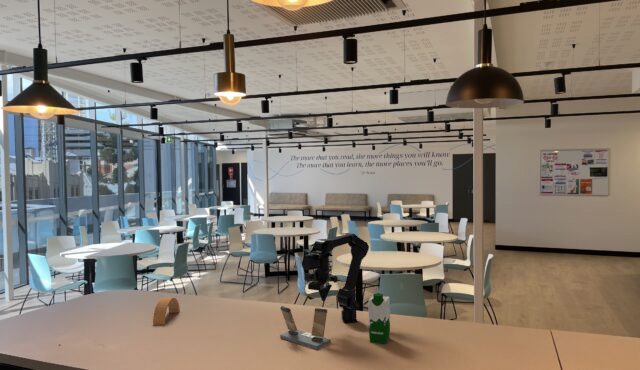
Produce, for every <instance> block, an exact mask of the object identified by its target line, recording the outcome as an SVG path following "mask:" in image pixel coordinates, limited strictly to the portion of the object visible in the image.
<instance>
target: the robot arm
mask: <svg viewBox="0 0 640 370" xmlns="http://www.w3.org/2000/svg"><path fill="white" fill-rule="evenodd" d="M343 245H348V246H349V248H350V254H351V261H350V264H349V269H348V271H347V275H346V278H345V283H344V286H343V287H342V288H339V289H338V293H337V295H336V298H337V299H336V301H337V303H338V305H339V307H340V308H341V309H342V310H341V311H340V312H341V313H340V315H341V320H342V322H343V323H345V324H347V323H358V320H357V310H359V309H360V306H361V305H360V303H359V302H358V300H357V299H356V297H357V294H356V289H355V288H356V283H357V280H358V276H359V273H360V269H361V266H362V265H361V264H362V261H363V260H364V258H366V256H367V255H368V252H369V249H370V246H369V243H368V242H367V241H365V240H363V238H360V237H359V236H357V234H356V233H350V232H346V233H345V234H343V235H339V236H335V237H331V238H319V239H316V240H315V242H314V244H313V246H312V248H311V250H310V251H309V254H304V257H303V259H302V260H301V266H302V268H303V270H304V271H306V272H307V271H311V270H314V272H311V273H310V272H308V273H304V280H305V281H306V283H308V284H307V289H308V290H310V291H311V290H312V291H318V293H319V297H320V298H321V301H322V302H325V301H326V300H327V297H328V295H329V292H330V290H331V288H332V287H333V285H332V284H331V283H330V282H333V283H334V284H335V283H337V282H339V281H338V279H339V277H338V276H337V275H333V274H332V275H331V274H330V272H331V271H332V268H330V257H333V254H332V253H331V252H332V251H333V250H334V249H335V248H337V247H340V246H343Z"/></svg>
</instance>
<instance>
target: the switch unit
mask: <svg viewBox="0 0 640 370" xmlns="http://www.w3.org/2000/svg"><path fill="white" fill-rule="evenodd" d="M279 337H280V339H281V340H286V341H287V342H288V341H289V342H290V343H294V344H297V345H301V346H304V347H307V348H310V349H313V350H316V351H317V350H320V349H321V348H323V347H325V346H328V345H329V344H331V343H332V340H331V339H330V338H327V337H325V336H324V337H318V336H312V332H307V331H302V330H300V329H297V331H296V332H293V331H291V330H288V331H286V332H283V333H281V334H280V335H279Z"/></svg>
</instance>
